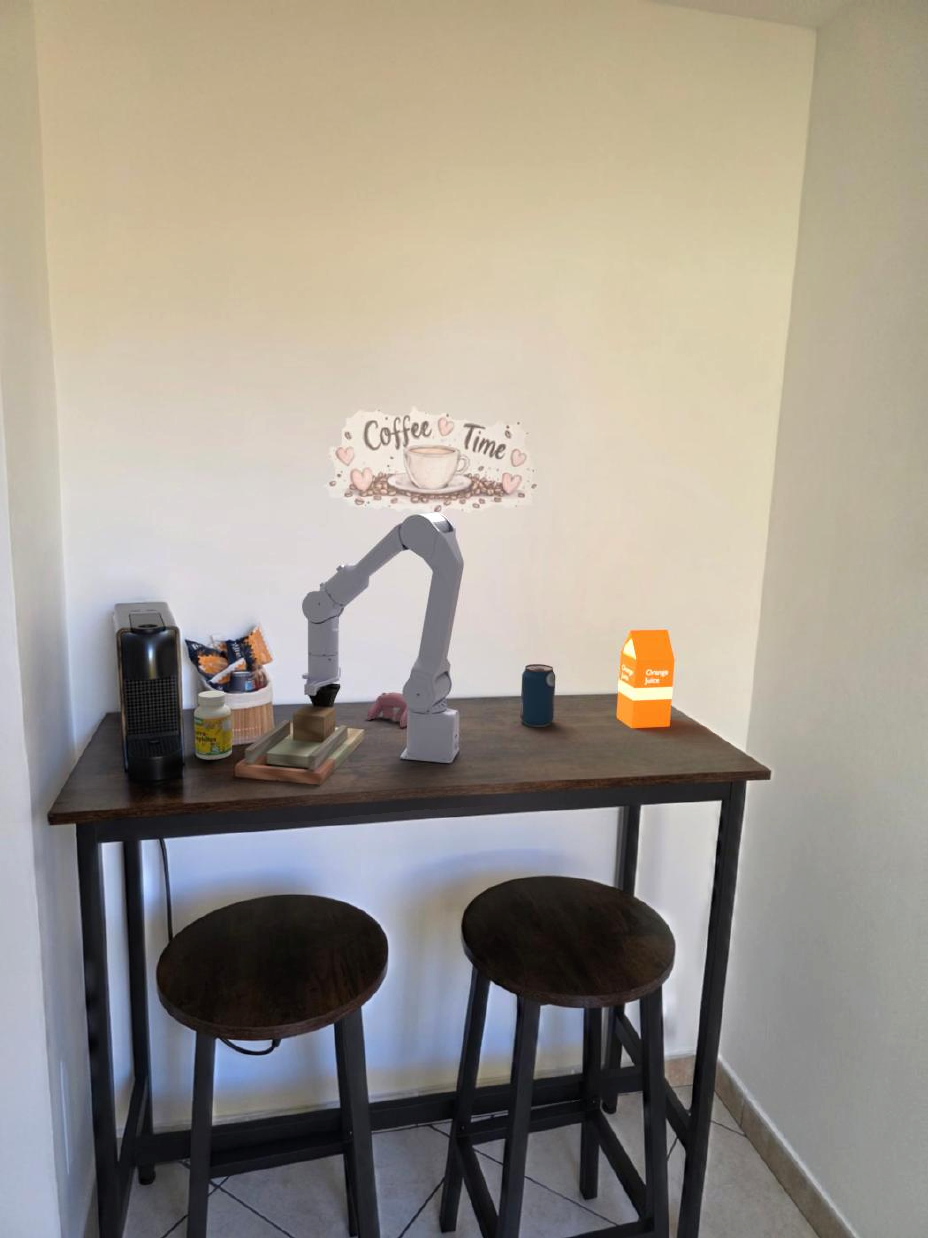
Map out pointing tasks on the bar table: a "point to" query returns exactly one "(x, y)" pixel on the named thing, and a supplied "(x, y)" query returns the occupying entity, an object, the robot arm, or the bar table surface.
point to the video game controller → (390, 707)
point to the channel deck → (297, 755)
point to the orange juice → (646, 679)
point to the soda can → (537, 695)
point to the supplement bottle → (212, 726)
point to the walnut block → (313, 723)
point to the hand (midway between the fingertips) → (323, 722)
